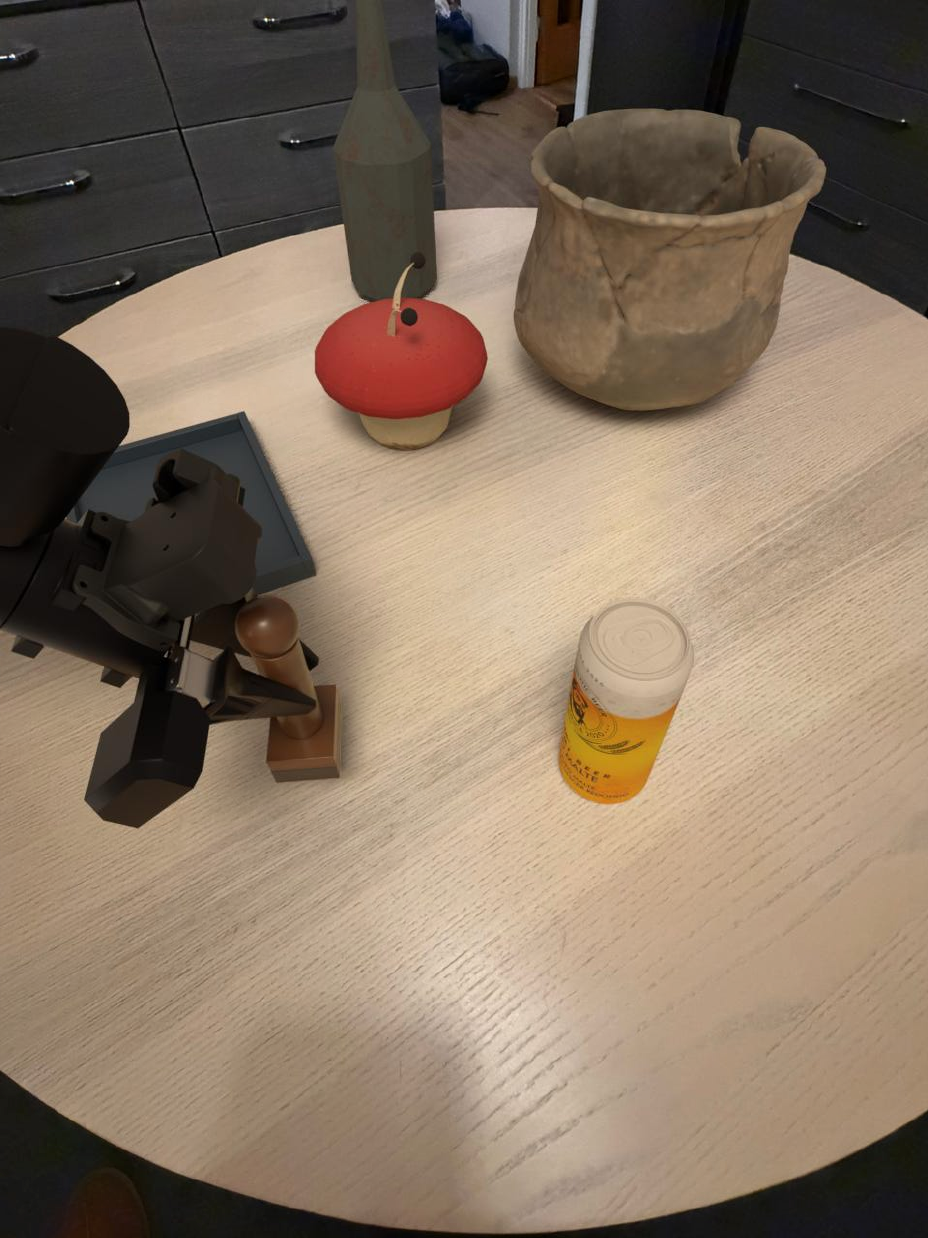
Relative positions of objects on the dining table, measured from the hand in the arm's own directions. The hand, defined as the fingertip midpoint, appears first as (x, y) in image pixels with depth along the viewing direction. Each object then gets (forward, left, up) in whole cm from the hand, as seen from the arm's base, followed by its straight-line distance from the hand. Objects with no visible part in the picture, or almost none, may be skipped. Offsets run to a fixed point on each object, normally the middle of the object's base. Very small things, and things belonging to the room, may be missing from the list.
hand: (314, 686), depth 43 cm
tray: (-5, +28, -10) cm, 31 cm away
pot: (+42, +29, -11) cm, 53 cm away
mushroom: (+18, +32, -11) cm, 39 cm away
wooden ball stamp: (-1, 0, -7) cm, 7 cm away
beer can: (+16, -8, -11) cm, 21 cm away
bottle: (+27, +58, -11) cm, 65 cm away
